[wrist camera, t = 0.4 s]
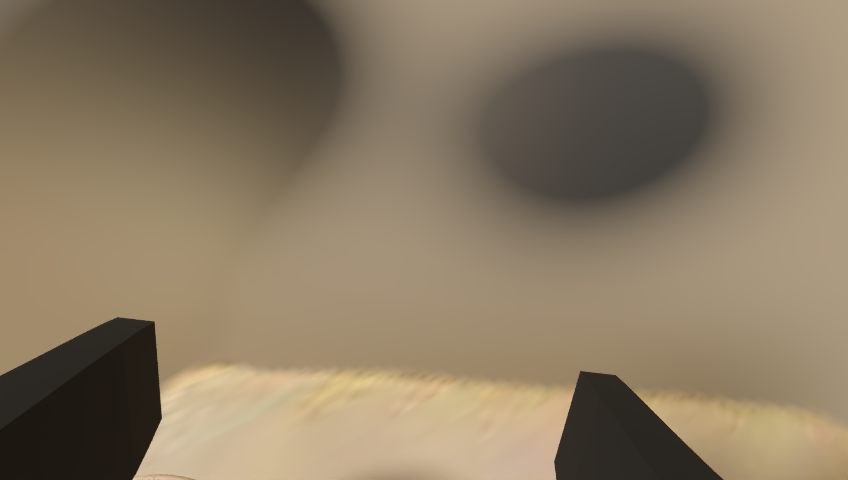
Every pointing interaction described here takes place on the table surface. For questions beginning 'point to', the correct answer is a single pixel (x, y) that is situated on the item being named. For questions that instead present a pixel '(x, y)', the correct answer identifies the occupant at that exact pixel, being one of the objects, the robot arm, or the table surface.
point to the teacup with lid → (160, 477)
